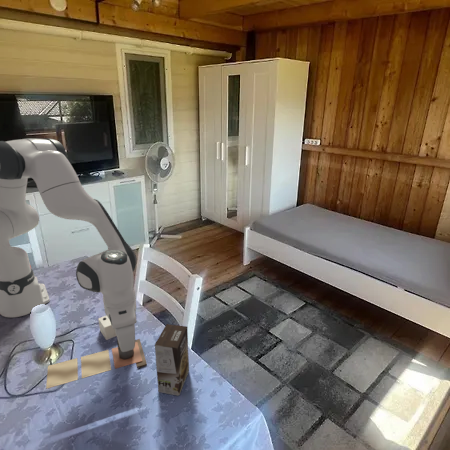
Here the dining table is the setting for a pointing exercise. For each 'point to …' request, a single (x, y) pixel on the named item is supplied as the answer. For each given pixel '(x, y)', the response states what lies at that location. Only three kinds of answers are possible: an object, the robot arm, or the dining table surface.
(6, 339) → the dining table surface
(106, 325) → the die
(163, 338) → the coffee box
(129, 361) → the game board
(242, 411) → the dining table surface
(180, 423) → the dining table surface
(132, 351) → the pawn
